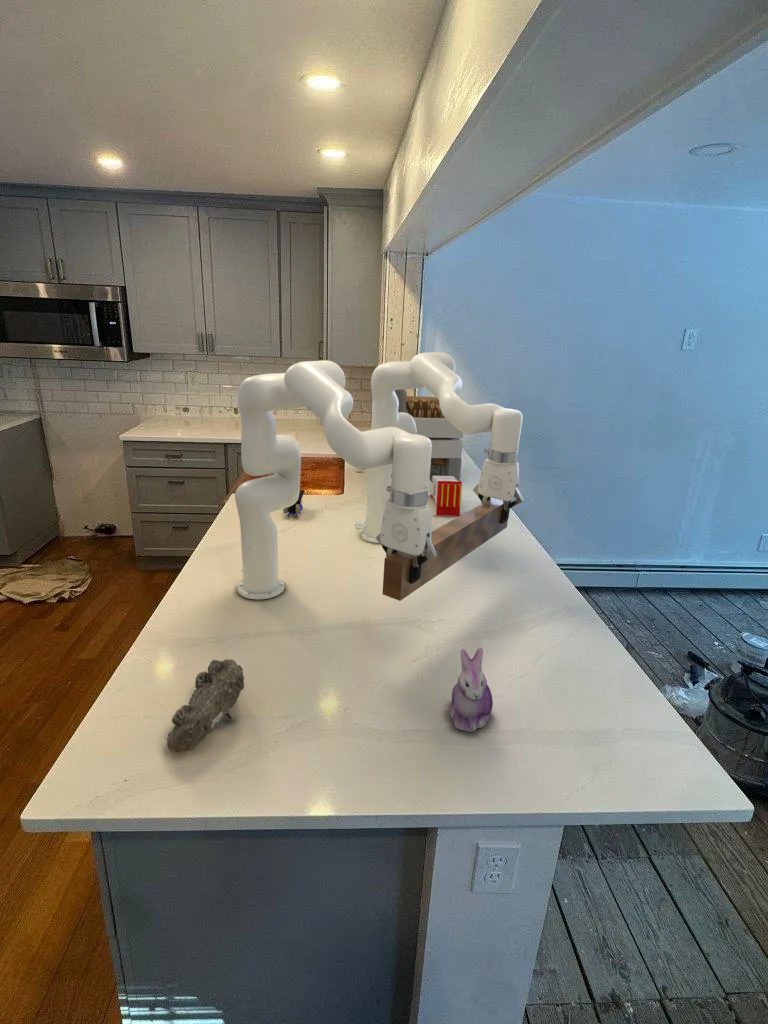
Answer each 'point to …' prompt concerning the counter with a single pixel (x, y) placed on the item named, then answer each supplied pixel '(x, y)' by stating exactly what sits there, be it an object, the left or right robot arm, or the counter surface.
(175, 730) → the fossil
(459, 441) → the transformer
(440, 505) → the red striped box
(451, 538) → the bar
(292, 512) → the figurine character
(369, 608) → the counter surface
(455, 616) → the counter surface
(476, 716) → the figurine
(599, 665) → the counter surface
